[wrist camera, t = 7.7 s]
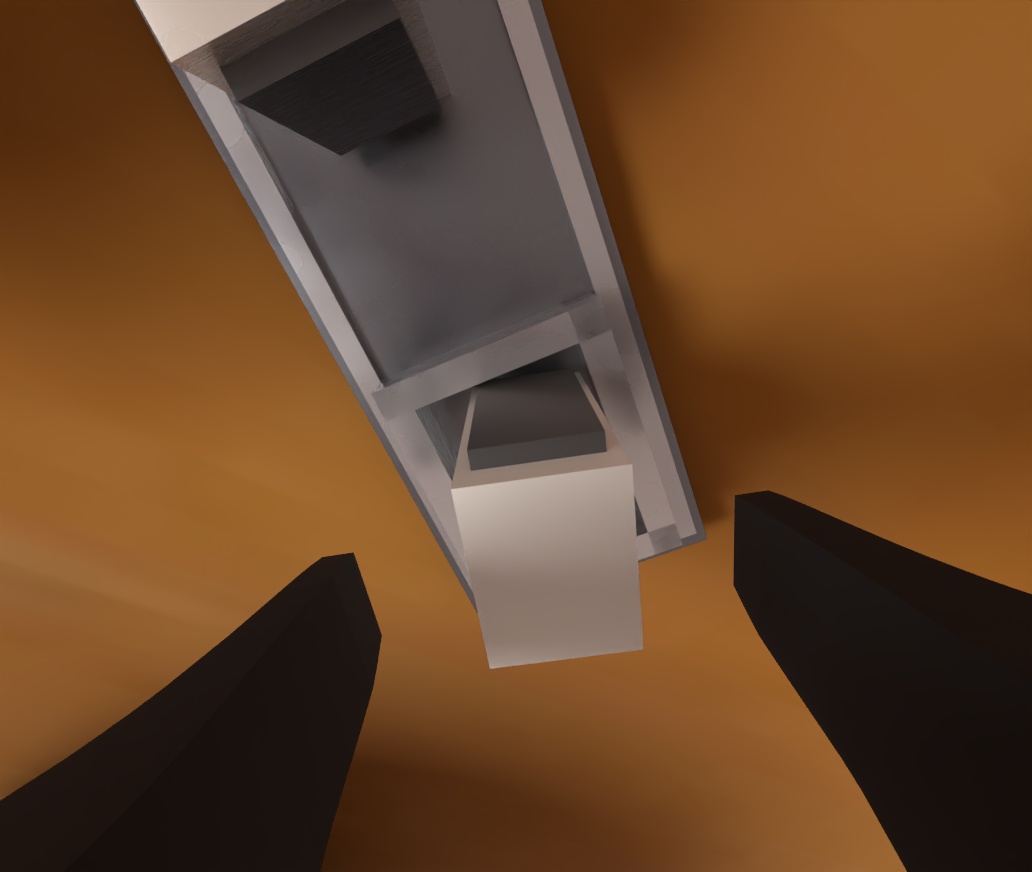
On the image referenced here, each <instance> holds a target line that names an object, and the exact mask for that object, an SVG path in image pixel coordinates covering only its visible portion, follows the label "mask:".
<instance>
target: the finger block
mask: <svg viewBox="0 0 1032 872" xmlns="http://www.w3.org/2000/svg"><path fill="white" fill-rule="evenodd" d="M451 493H452V498H453V503H454V507H455V512H456V516H457V521H458V525H459V530H460V534H461V539H462V543H463V548H464V552H465V557H466V562H467V566H468V571H469V575H470V580H471V584H472V589H473V593H474V598H475V602H476V607H477V612H478V616H479V621H480V625H481V630H482V634H483V639H484V643H485V648H486V652H487V657H488V662H489V666H490V669H493V668H501V667H509V666H517V665H524V664H532V663H540V662H548V661H556V660H564V659H572V658H580V657H587V656H595V655H603V654H611V653H619V652H627V651H635V650H643V634H642V618H641V601H640V584H639V568H638V551H637V534H636V517H635V501H634V484H633V467H632V463H631V461H630V459H629V457H628V456H627V454H626V452H625V451H624V449H623V447H622V445H621V444H620V442H619V440H618V438H617V437H616V435H615V433H614V431H613V430H612V428H611V426H610V424H609V423H608V421H607V419H606V417H605V416H604V414H603V412H602V411H601V409H600V407H599V405H598V404H597V402H596V400H595V398H594V397H593V395H592V393H591V391H590V390H589V388H588V386H587V384H586V383H585V381H584V379H583V378H582V376H581V374H580V372H575V373H574V372H573V370H572V368H570V369H563V370H556V371H550V372H543V373H536V374H529V375H522V376H516V377H509V378H502V379H495V380H488V381H485V382H482V383H480V384H479V385H478V387H473V388H472V393H471V397H470V402H469V406H468V411H467V416H466V420H465V425H464V430H463V434H462V439H461V444H460V448H459V453H458V457H457V462H456V467H455V471H454V476H453V481H452V485H451Z"/></svg>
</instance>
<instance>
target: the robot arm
mask: <svg viewBox="0 0 1032 872" xmlns="http://www.w3.org/2000/svg"><path fill="white" fill-rule="evenodd" d="M734 587H735V589H736V591H737V593H738V595H739V597H740V599H741V601H742V603H743V605H744V607H745V609H746V611H747V613H748V615H749V617H750V619H751V621H752V623H753V625H754V627H755V629H756V631H757V632H758V634H759V636H760V637H761V639H762V640H763V642H764V644H765V645H766V647H767V648H768V650H769V651H770V653H771V654H772V656H773V657H774V659H775V660H776V662H777V663H778V665H779V666H780V668H781V669H782V671H783V672H784V674H785V675H786V677H787V678H788V680H789V681H790V683H791V684H792V686H793V687H794V689H795V690H796V691H797V693H798V694H799V696H800V697H801V699H802V700H803V702H804V703H805V705H806V706H807V708H808V709H809V711H810V712H811V714H812V715H813V717H814V718H815V720H816V721H817V722H818V724H819V725H820V727H821V728H822V730H823V731H824V733H825V734H826V736H827V737H828V739H829V740H830V742H831V743H832V745H833V746H834V748H835V749H836V751H837V752H838V754H839V755H840V757H841V758H842V760H843V761H844V763H845V764H846V766H847V768H848V769H849V771H850V772H851V774H852V776H853V777H854V779H855V780H856V782H857V784H858V785H859V787H860V788H861V790H862V792H863V794H864V795H865V797H866V799H867V801H868V802H869V804H870V806H871V808H872V810H873V811H874V813H875V815H876V817H877V819H878V820H879V822H880V824H881V826H882V827H883V829H884V831H885V833H886V835H887V836H888V838H889V840H890V842H891V844H892V845H893V847H894V849H895V851H896V852H897V854H898V856H899V858H900V860H901V861H902V863H903V865H904V867H905V869H906V871H907V872H1032V594H1029V593H1026V592H1023V591H1020V590H1017V589H1014V588H1011V587H1008V586H1006V585H1003V584H1000V583H997V582H994V581H991V580H988V579H986V578H983V577H980V576H977V575H975V574H972V573H970V572H967V571H964V570H962V569H959V568H956V567H954V566H951V565H949V564H946V563H943V562H941V561H938V560H935V559H933V558H930V557H927V556H925V555H923V554H920V553H918V552H915V551H913V550H910V549H908V548H905V547H903V546H900V545H898V544H895V543H893V542H891V541H888V540H886V539H883V538H881V537H879V536H876V535H874V534H872V533H869V532H867V531H865V530H862V529H860V528H858V527H855V526H853V525H851V524H848V523H846V522H844V521H841V520H839V519H837V518H835V517H832V516H830V515H828V514H825V513H823V512H821V511H819V510H816V509H814V508H812V507H809V506H807V505H805V504H802V503H800V502H797V501H795V500H793V499H790V498H788V497H785V496H783V495H780V494H777V493H774V492H771V491H761V492H755V493H748V494H741V495H735V523H734ZM381 637H382V635H381V632H380V629H379V626H378V623H377V620H376V617H375V614H374V611H373V608H372V605H371V602H370V600H369V597H368V594H367V591H366V588H365V585H364V582H363V579H362V576H361V573H360V570H359V567H358V564H357V561H356V558H355V555H354V553H348V554H341V555H334V556H328V557H322V558H321V559H319V560H318V561H317V562H315V563H314V564H312V565H311V566H310V567H309V568H307V569H306V570H305V571H304V572H302V573H301V574H300V575H299V576H298V577H297V578H295V579H294V580H293V581H292V582H291V583H289V584H288V585H287V586H286V587H285V588H284V589H282V590H281V591H280V592H279V593H278V594H277V595H276V596H274V597H273V598H272V599H271V600H270V601H269V602H267V603H266V604H265V605H264V606H263V607H262V608H260V609H259V610H258V611H257V612H256V613H255V614H253V615H252V616H251V617H250V618H249V619H248V620H246V621H245V622H244V623H243V624H242V625H241V626H239V627H238V628H237V629H236V630H235V631H234V632H233V633H231V634H230V635H229V636H228V637H227V638H225V639H224V640H223V641H222V642H220V643H219V644H218V645H217V646H215V647H214V648H213V649H212V650H211V651H209V652H208V653H207V654H206V655H204V656H203V657H202V658H201V659H199V660H198V661H197V662H196V663H194V664H193V665H192V666H191V667H189V668H188V669H187V670H186V671H184V672H183V673H182V674H181V675H180V676H178V677H177V678H176V679H175V680H173V681H172V682H171V683H170V684H168V685H167V686H166V687H165V688H163V689H162V690H161V691H159V692H158V693H157V694H155V695H154V696H153V697H151V698H150V699H149V700H147V701H146V702H145V703H143V704H142V705H141V706H139V707H138V708H137V709H135V710H134V711H133V712H131V713H130V714H129V715H127V716H126V717H124V718H123V719H122V720H120V721H119V722H117V723H116V724H115V725H113V726H112V727H110V728H109V729H107V730H106V731H105V732H103V733H102V734H100V735H99V736H98V737H96V738H95V739H93V740H92V741H91V742H89V743H88V744H86V745H85V746H83V747H82V748H81V749H79V750H78V751H76V752H75V753H73V754H72V755H70V756H69V757H67V758H66V759H64V760H63V761H61V762H60V763H58V764H57V765H55V766H54V767H52V768H50V769H49V770H47V771H46V772H44V773H43V774H41V775H40V776H38V777H36V778H35V779H33V780H32V781H30V782H29V783H27V784H26V785H24V786H23V787H21V788H19V789H18V790H16V791H15V792H13V793H12V794H10V795H9V796H7V797H6V798H4V799H2V800H1V801H0V872H320V871H321V866H322V862H323V857H324V854H325V850H326V846H327V842H328V838H329V835H330V831H331V827H332V823H333V820H334V817H335V814H336V810H337V807H338V804H339V800H340V797H341V794H342V790H343V787H344V784H345V780H346V777H347V774H348V771H349V767H350V764H351V761H352V757H353V754H354V751H355V748H356V744H357V741H358V738H359V734H360V731H361V728H362V724H363V721H364V717H365V714H366V711H367V707H368V704H369V700H370V697H371V693H372V690H373V685H374V680H375V674H376V669H377V663H378V656H379V650H380V643H381Z"/></svg>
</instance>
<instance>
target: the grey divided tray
mask: <svg viewBox="0 0 1032 872" xmlns="http://www.w3.org/2000/svg"><path fill="white" fill-rule="evenodd" d="M134 2H135V4H136V6H137V8H138V9H139V11H140V13H141V15H142V17H143V18H144V20H145V22H146V24H147V25H148V27H149V29H150V31H151V33H152V34H153V36H154V38H155V40H156V41H157V43H158V45H159V47H160V49H161V50H162V52H163V54H164V56H165V57H166V59H167V61H168V63H169V65H170V66H171V68H172V70H173V72H174V74H175V75H176V77H177V79H178V81H179V82H180V84H181V86H182V88H183V90H184V91H185V93H186V95H187V97H188V98H189V100H190V102H191V104H192V106H193V107H194V109H195V111H196V113H197V115H198V116H199V118H200V120H201V122H202V123H203V125H204V127H205V129H206V131H207V132H208V134H209V136H210V138H211V139H212V141H213V143H214V145H215V147H216V148H217V150H218V152H219V154H220V155H221V157H222V159H223V161H224V163H225V164H226V166H227V168H228V170H229V172H230V173H231V175H232V177H233V179H234V180H235V182H236V184H237V186H238V188H239V189H240V191H241V193H242V195H243V196H244V198H245V200H246V202H247V204H248V205H249V207H250V209H251V211H252V213H253V214H254V216H255V218H256V220H257V221H258V223H259V225H260V227H261V229H262V230H263V232H264V234H265V236H266V237H267V239H268V241H269V243H270V245H271V246H272V248H273V250H274V252H275V253H276V255H277V257H278V259H279V261H280V262H281V264H282V266H283V268H284V270H285V271H286V273H287V275H288V277H289V278H290V280H291V282H292V284H293V286H294V287H295V289H296V291H297V293H298V294H299V296H300V298H301V300H302V302H303V303H304V305H305V307H306V309H307V310H308V312H309V314H310V316H311V318H312V319H313V321H314V323H315V325H316V327H317V328H318V330H319V332H320V334H321V335H322V337H323V339H324V341H325V343H326V344H327V346H328V348H329V350H330V351H331V353H332V355H333V357H334V359H335V360H336V362H337V364H338V366H339V368H340V369H341V371H342V373H343V375H344V376H345V378H346V380H347V382H348V384H349V385H350V387H351V389H352V391H353V392H354V394H355V396H356V398H357V400H358V401H359V403H360V405H361V407H362V408H363V410H364V412H365V414H366V416H367V417H368V419H369V421H370V423H371V425H372V426H373V428H374V430H375V432H376V433H377V435H378V437H379V439H380V441H381V442H382V444H383V446H384V448H385V449H386V451H387V453H388V455H389V457H390V458H391V460H392V462H393V464H394V466H395V467H396V469H397V471H398V473H399V474H400V476H401V478H402V480H403V482H404V483H405V485H406V487H407V489H408V490H409V492H410V494H411V496H412V498H413V499H414V501H415V503H416V505H417V506H418V508H419V510H420V512H421V514H422V515H423V517H424V519H425V521H426V523H427V524H428V526H429V528H430V530H431V531H432V533H433V535H434V537H435V539H436V540H437V542H438V544H439V546H440V547H441V549H442V551H443V553H444V555H445V556H446V558H447V560H448V562H449V564H450V565H451V567H452V569H453V571H454V572H455V574H456V576H457V578H458V580H459V581H460V583H461V585H462V587H463V588H464V590H465V592H466V594H467V596H468V597H469V599H470V601H471V603H472V604H473V606H474V608H475V610H476V612H477V607H476V602H475V598H474V593H473V589H472V584H471V580H470V575H469V571H468V566H467V562H466V557H465V552H464V548H463V543H462V539H461V534H460V530H459V525H458V521H457V516H456V512H455V507H454V503H453V498H452V493H451V485H452V481H453V476H454V471H455V467H456V462H457V457H458V453H459V448H460V444H461V439H462V434H463V430H464V425H465V420H466V416H467V411H468V406H469V402H470V397H471V393H472V388H473V387H478V385H479V384H480V383H482V382H485V381H488V380H495V379H502V378H509V377H516V376H522V375H529V374H536V373H543V372H550V371H556V370H563V369H570V368H572V370H573V372H574V373H575V372H580V374H581V376H582V378H583V379H584V381H585V383H586V384H587V386H588V388H589V390H590V391H591V393H592V395H593V397H594V398H595V400H596V402H597V404H598V405H599V407H600V409H601V411H602V412H603V414H604V416H605V417H606V419H607V421H608V423H609V424H610V426H611V428H612V430H613V431H614V433H615V435H616V437H617V438H618V440H619V442H620V444H621V445H622V447H623V449H624V451H625V452H626V454H627V456H628V457H629V459H630V461H631V463H632V467H633V484H634V501H635V517H636V534H637V551H638V563H639V562H642V561H644V560H647V559H650V558H653V557H656V556H659V555H662V554H665V553H668V552H671V551H674V550H677V549H679V548H682V547H685V546H688V545H691V544H694V543H697V542H700V541H703V540H706V539H707V537H706V533H705V530H704V527H703V524H702V520H701V517H700V514H699V511H698V507H697V504H696V501H695V498H694V494H693V491H692V488H691V485H690V481H689V478H688V475H687V472H686V468H685V465H684V462H683V459H682V455H681V452H680V449H679V446H678V442H677V439H676V436H675V433H674V430H673V426H672V423H671V420H670V417H669V413H668V410H667V407H666V404H665V400H664V397H663V394H662V391H661V387H660V384H659V381H658V378H657V374H656V371H655V368H654V365H653V361H652V358H651V355H650V352H649V348H648V345H647V342H646V339H645V335H644V332H643V329H642V326H641V322H640V319H639V316H638V313H637V309H636V306H635V303H634V300H633V296H632V293H631V290H630V287H629V283H628V280H627V277H626V274H625V271H624V267H623V264H622V261H621V258H620V254H619V251H618V248H617V245H616V241H615V238H614V235H613V232H612V228H611V225H610V222H609V219H608V215H607V212H606V209H605V206H604V202H603V199H602V196H601V193H600V189H599V186H598V183H597V180H596V176H595V173H594V170H593V167H592V163H591V160H590V157H589V154H588V150H587V147H586V144H585V141H584V137H583V134H582V131H581V128H580V124H579V121H578V118H577V115H576V112H575V108H574V105H573V102H572V99H571V95H570V92H569V89H568V86H567V82H566V79H565V76H564V73H563V69H562V66H561V63H560V60H559V56H558V53H557V50H556V47H555V43H554V40H553V37H552V34H551V30H550V27H549V24H548V21H547V17H546V14H545V11H544V8H543V4H542V1H541V0H134ZM477 613H478V612H477Z"/></svg>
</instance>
